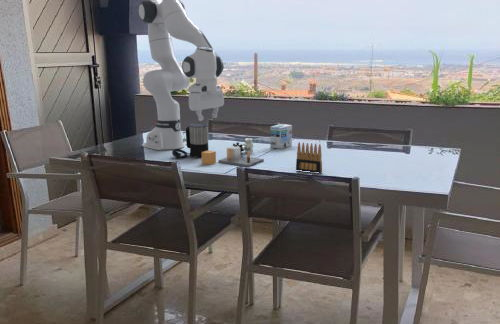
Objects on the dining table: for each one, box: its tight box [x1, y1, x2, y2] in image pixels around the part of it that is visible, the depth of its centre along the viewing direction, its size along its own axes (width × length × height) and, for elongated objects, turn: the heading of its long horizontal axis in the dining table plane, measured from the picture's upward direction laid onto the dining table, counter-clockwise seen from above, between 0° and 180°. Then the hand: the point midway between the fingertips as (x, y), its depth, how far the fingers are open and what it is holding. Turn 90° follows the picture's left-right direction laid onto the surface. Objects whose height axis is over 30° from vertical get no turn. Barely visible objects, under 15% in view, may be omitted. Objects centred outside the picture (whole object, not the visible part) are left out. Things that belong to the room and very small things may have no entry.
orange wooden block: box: [201, 150, 217, 166], centre depth 206 cm, size 4×4×5 cm
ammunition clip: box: [295, 141, 323, 174], centre depth 189 cm, size 11×2×12 cm, turn 61°
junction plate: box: [218, 145, 265, 168], centre depth 207 cm, size 16×12×6 cm
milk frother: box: [172, 122, 210, 159], centre depth 217 cm, size 14×16×15 cm
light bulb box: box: [269, 123, 293, 150], centre depth 238 cm, size 11×7×11 cm, turn 143°
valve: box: [232, 137, 254, 156], centre depth 223 cm, size 7×7×12 cm
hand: (207, 119), depth 202 cm, fingers open, 8 cm apart
